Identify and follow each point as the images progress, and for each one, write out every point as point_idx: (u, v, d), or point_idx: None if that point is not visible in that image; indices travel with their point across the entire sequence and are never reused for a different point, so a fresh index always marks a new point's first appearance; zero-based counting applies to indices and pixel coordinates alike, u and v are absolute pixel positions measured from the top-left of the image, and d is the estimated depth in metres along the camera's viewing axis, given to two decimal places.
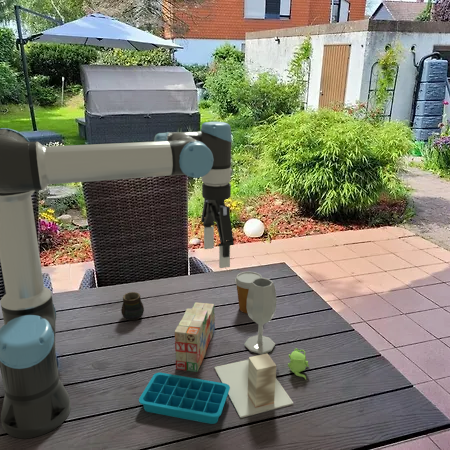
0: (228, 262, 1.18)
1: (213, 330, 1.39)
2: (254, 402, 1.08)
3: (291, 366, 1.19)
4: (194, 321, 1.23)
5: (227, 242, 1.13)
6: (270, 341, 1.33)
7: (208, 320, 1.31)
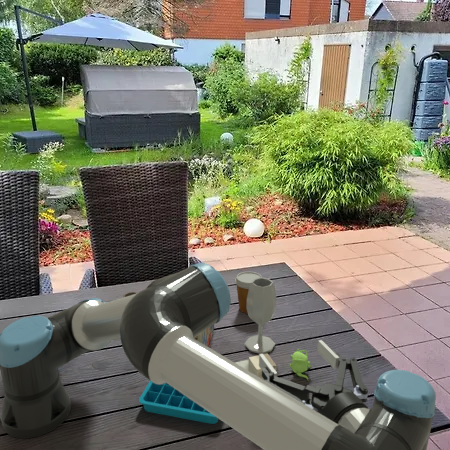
0: (261, 368, 0.89)
1: (213, 329, 1.40)
2: None
3: (293, 367, 1.19)
4: None
5: None
6: (270, 341, 1.33)
7: None
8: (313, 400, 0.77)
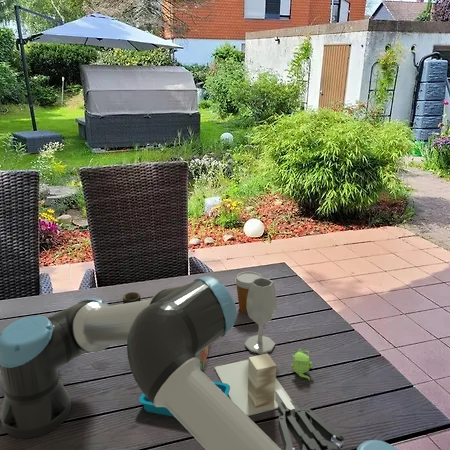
0: (277, 402, 0.99)
1: None
2: (254, 402, 1.08)
3: (295, 367, 1.18)
4: None
5: None
6: (270, 341, 1.33)
7: None
8: None
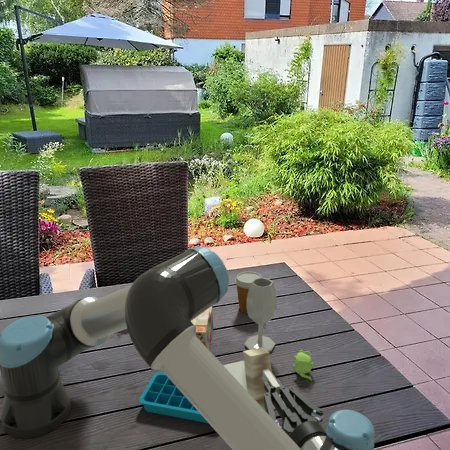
0: (264, 381, 1.07)
1: (212, 328, 1.40)
2: (253, 395, 1.08)
3: (296, 367, 1.18)
4: (199, 319, 1.23)
5: None
6: (270, 341, 1.33)
7: (210, 318, 1.32)
8: (283, 426, 0.91)
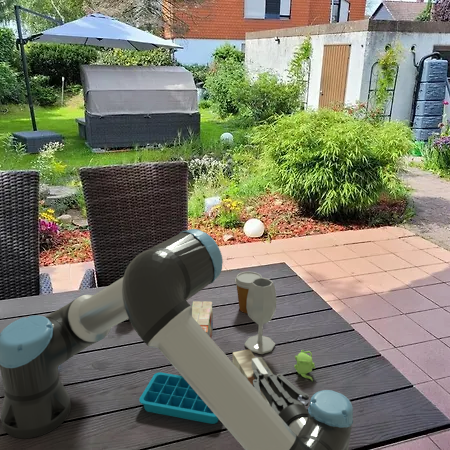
0: (253, 369, 1.11)
1: (212, 327, 1.41)
2: (246, 376, 1.12)
3: (297, 368, 1.18)
4: (200, 319, 1.23)
5: None
6: (270, 341, 1.33)
7: (210, 318, 1.32)
8: None
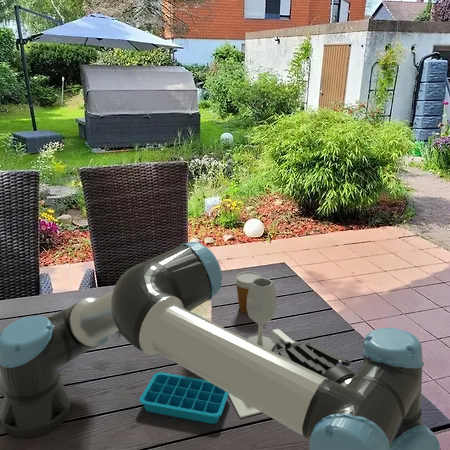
0: (275, 343, 0.93)
1: None
2: None
3: None
4: None
5: None
6: (270, 341, 1.33)
7: None
8: None
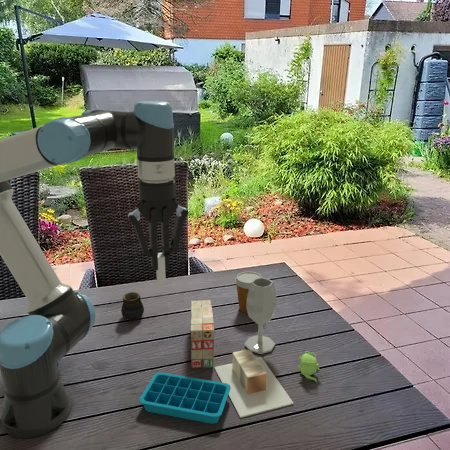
0: (158, 278, 0.99)
1: None
2: (246, 376, 1.12)
3: (302, 369, 1.18)
4: (204, 318, 1.24)
5: None
6: (270, 341, 1.33)
7: None
8: None
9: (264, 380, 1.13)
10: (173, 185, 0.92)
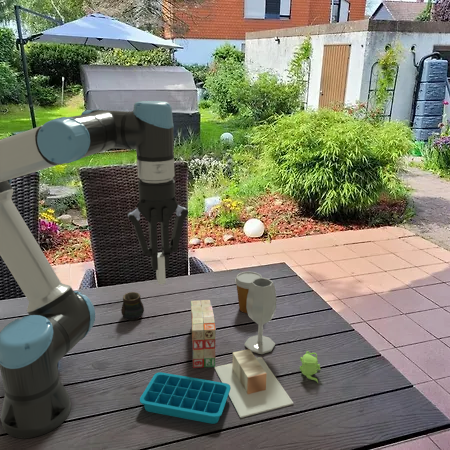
0: (158, 278, 0.99)
1: None
2: (246, 376, 1.12)
3: (303, 369, 1.18)
4: (205, 317, 1.24)
5: None
6: (270, 341, 1.33)
7: None
8: None
9: (264, 380, 1.13)
10: (173, 185, 0.92)
